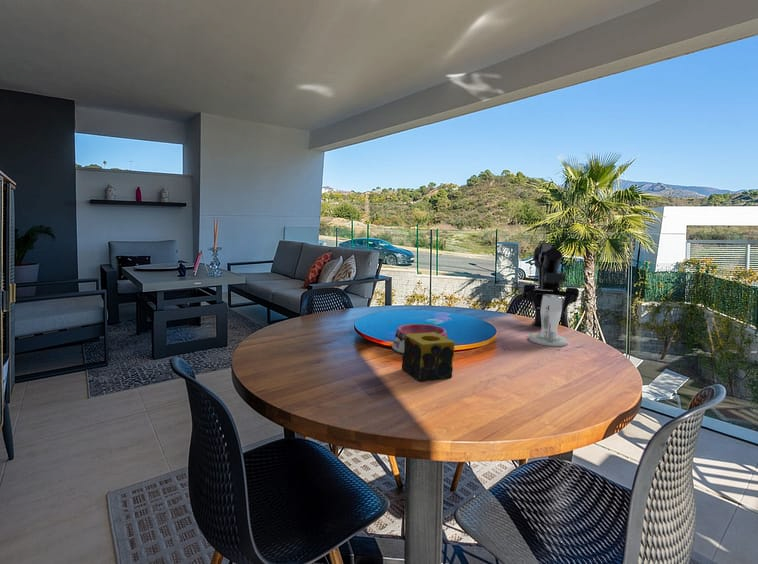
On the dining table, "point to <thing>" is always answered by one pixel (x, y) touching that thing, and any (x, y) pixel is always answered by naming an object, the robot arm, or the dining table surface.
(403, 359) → the candle
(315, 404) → the dining table surface
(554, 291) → the robot arm
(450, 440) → the dining table surface
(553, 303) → the beer glass
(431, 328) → the dog bowl
